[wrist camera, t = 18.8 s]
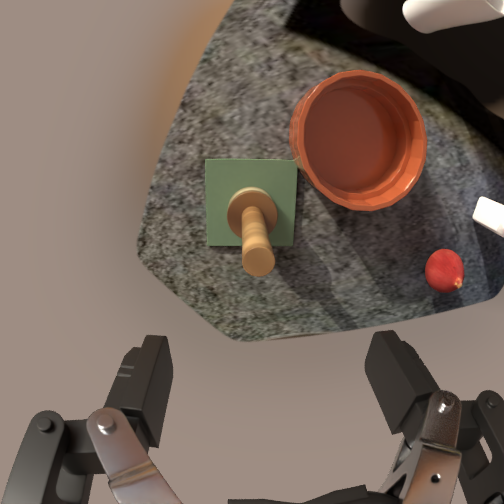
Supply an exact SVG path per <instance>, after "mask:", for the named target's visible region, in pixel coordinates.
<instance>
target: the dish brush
mask: <svg viewBox="0 0 504 504" xmlns="http://www.w3.org/2000/svg"><path fill="white" fill-rule="evenodd" d="M277 220H278V212H277V208H276V206H275V204H274V201H273V199H272V198H271V196H270V195H269V194H268V193H267V192H266V191H265V190H263V189H261V188H258V187H245V188H242V189H240V190H239V191H237V192H236V193H235V194H234V195H233V196H232V198H231V199H230V202H229V205H228V211H227V222H228V225H229V227H230V229H231V230H232V232H233V233H234V234H235V235H237V236H238V237H240V238H242V264H243V267H244V269H245V271H246V272H247V273H249V274H250V275H252V276H257V277H260V276H265V275H267V274H268V273H270V272H271V271H272V269H273V268H274V265H275V257H274V253H273V249H272V246H271V242H270V238H269V234H270V233H271V232H272V231H273V229H274V228H275V226H276V224H277Z"/></svg>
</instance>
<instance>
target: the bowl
mask: <svg viewBox="0 0 504 504" xmlns="http://www.w3.org/2000/svg"><path fill="white" fill-rule="evenodd" d="M289 143H290V144H289V145H290V148H291V152H292V155H293V159H294V162H295V164H296V166H297V167H298V169H299V171H300V172H301V174H302V175H303V177H304V178H305V180H306V181H307V182H309V183H310V184H311V185H312V186H314V187H315V188H316V189H317V190H318V191H320V192H321V193H322V194H323V195H325V196H326V197H327V198H329V199H330V200H331V201H332V202H334V203H336V204H339V205H341V206H344V207H346V208H349V209H351V210H360V211H375V210H378V209H382V208H385V207H388V206H392V205H393V204H394V203H396V202H397V201H399V200H400V199H402V198H403V197H404V196H406V195H407V194H408V193H409V191H410V190H411V189H412V187H413V186H414V185H415V183H416V182H417V181H418V179H419V177H420V174H421V172H422V169H423V166H424V164H425V160H426V150H427V136H426V131H425V126H424V121H423V118H422V116H421V114H420V112H419V110H418V108H417V106H416V104H415V102H414V101H413V99H412V98H411V97H410V96H409V95H408V94H407V93H406V92H405V91H404V90H403V89H402V87H401V86H400V85H398V84H397V83H395V82H393V81H392V80H390V79H388V78H387V77H385V76H383V75H381V74H378V73H373V72H369V71H364V70H355V71H347V72H340V73H338V74H336V75H334V76H332V77H330V78H328V79H327V80H325V81H323V82H321V83H320V84H318V85H316V86H315V87H313V88H311V89H310V90H308V92H307V93H306V94H305V95H304V96H303V98H302V99H301V100H300V101H299V102H298V104H297V105H296V108H295V110H294V113H293V116H292V118H291V121H290V131H289Z"/></svg>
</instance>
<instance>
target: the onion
mask: <svg viewBox="0 0 504 504" xmlns="http://www.w3.org/2000/svg"><path fill="white" fill-rule="evenodd" d="M425 277H426V280H427V282H428V284H429V286H430V287H432V288H433V289H435V290H436V291H438V292H443V293H449V292H452V291H454V290H456V289H458V288H460V287H461V286H462V282H463V279H464V267H463V263H462V260H461V258H460V257H459V256H458V255H457V254H456V253H455V252H453V251H452V250H449V249H440V250H437V251H435V252H434V253H433V254H432V255H431V256H430V257H429V258H428V260H427V263H426V266H425Z"/></svg>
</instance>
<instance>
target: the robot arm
mask: <svg viewBox="0 0 504 504" xmlns="http://www.w3.org/2000/svg"><path fill="white" fill-rule="evenodd" d="M365 372H366V375H367V377H368V380H369V382H370V384H371V386H372V388H373V391H374V393H375V395H376V398H377V400H378V402H379V405H380V407H381V409H382V412H383V414H384V416H385V419H386V421H387V424H388V426H389V428H390V430H391V433H392V435H393V434H397V433H401V432H403V434H404V437H403V439H402V441H401V443H400V446H399V449H398V452H397V454H396V457H395V460H394V462H393V464H392V467H391V470H390V472H389V474H388V477H387V478H386V480H385V482H384V483H383V484H382V486H381V487H380V489H379V491H378V492H373V491H367V489H366V486H365V485H360V486H356V487H351V488H347V489H342V490H336V491H333V492H330V493H328V494H325V495H323V496H320V497H318V498H315V499H312V500H310V501H307V502H304V503H289V502H281V501H274V500H267V499H244V500H243V499H241V500H240V499H239V500H237V499H234V500H232V499H228V504H451V501H452V497H453V493H454V489H455V485H456V482H457V477H458V478H459V481H460V484H461V486H462V489H463V492H464V495H465V498H466V501H467V504H504V400H503V399H502V397H501V396H500V395H499V394H498V393H496V392H494V391H491V390H486V391H483V392H481V393H480V394H479V396H478V397H477V399H476V400H472V401H460V400H459V398H458V397H457V396H456V395H454V394H453V393H452V392H449V391H445V390H440V388H439V386H438V385H437V383H436V382H435V380H434V378H433V377H432V375H431V374H430V372H429V371H428V369H427V368H426V366H424V363H423V362H422V360H421V359H419V355H418V354H417V353H416V351H415V349H414V348H413V347H412V346H410V345H409V344H408V343H406V342H405V341H401V340H400V339H399V337H398V335H397V334H396V332H394V331H393V330H388V331H379V332H375V333H374V335H373V338H372V341H371V344H370V347H369V351H368V353H367V356H366V359H365ZM172 379H173V364H172V359H171V354H170V349H169V344H168V339H167V337H166V336H157V335H147V336H146V337H145V339H144V342H143V344H142V347H141V348H139V347H133V348H132V349H131V350H130V351H129V352H128V353H127V354H126V355H125V356H124V359H123V361H122V363H121V367H120V368H119V370H118V373H117V376H116V378H115V380H114V383H113V385H112V388H111V390H110V392H109V395H108V397H107V400H106V403H105V405H104V407H103V408H101V409H98V410H96V411H95V412H93V413H92V414H91V415H90V416H89V418H88V419H84V420H70V421H69V420H67V421H64V420H63V419H62V417H61V416H60V415H59V414H58V413H56V412H54V411H50V410H49V411H42V412H40V413H38V414H36V415H35V416H34V417H33V419H32V420H31V422H30V424H29V427H28V429H27V431H26V433H25V436H24V438H23V441H22V443H21V446H20V449H19V451H18V454H17V457H16V459H15V462H14V465H13V467H12V471H11V473H10V476H9V479H8V482H7V485H6V489H5V492H4V496H3V499H2V503H1V504H88V501H89V496H90V490H91V485H92V480H93V476H94V474H107V476H108V479H109V482H108V484H109V487H110V489H111V491H112V493H113V495H114V497H115V499H116V501H117V502H118V504H182V502H181V501H180V500H179V498H178V497H177V496H176V494H175V493H174V492H173V490H172V489H171V488H170V486H169V485H168V483H167V482H166V481H165V479H164V478H163V476H162V475H161V473H160V472H159V470H158V469H157V467H156V466H155V465H154V464H153V462H152V461H151V459H150V457H149V456H148V450H149V447H156V448H159V442H160V437H161V432H162V427H163V422H164V417H165V413H166V408H167V403H168V398H169V394H170V389H171V385H172ZM483 436H484V438H485V440H486V442H487V444H488V446H489V448H490V450H491V452H492V461H491V463H489V461H488V459H487V456H486V454H485V452H484V450H483V448H482V446H481V444H480V441H479V440H480V439H481V438H482V437H483Z"/></svg>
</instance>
